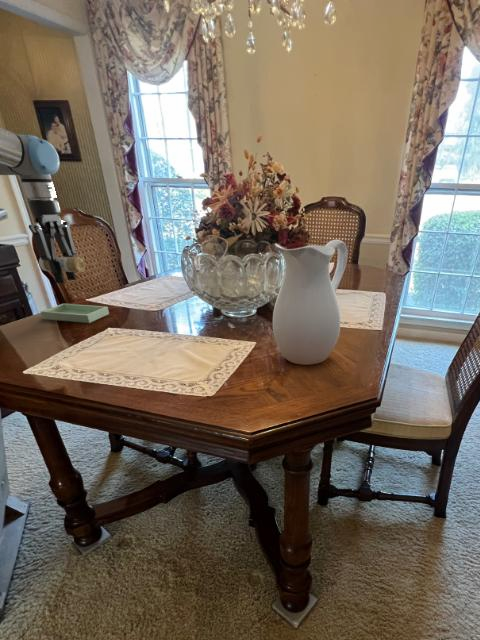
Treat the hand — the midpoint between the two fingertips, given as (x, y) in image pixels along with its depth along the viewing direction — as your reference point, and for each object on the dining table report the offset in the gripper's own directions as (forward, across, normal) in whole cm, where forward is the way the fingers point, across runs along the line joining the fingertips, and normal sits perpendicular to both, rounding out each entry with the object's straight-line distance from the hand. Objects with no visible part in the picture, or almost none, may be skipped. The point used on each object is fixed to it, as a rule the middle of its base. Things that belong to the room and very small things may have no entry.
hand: (66, 281), depth 122 cm
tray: (+12, 0, 0) cm, 12 cm away
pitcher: (+12, -13, -84) cm, 86 cm away
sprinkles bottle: (-5, 0, -7) cm, 9 cm away
